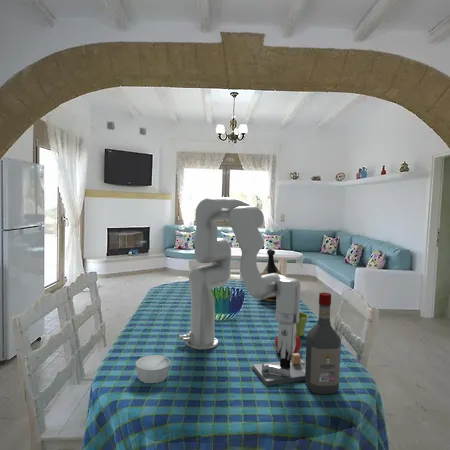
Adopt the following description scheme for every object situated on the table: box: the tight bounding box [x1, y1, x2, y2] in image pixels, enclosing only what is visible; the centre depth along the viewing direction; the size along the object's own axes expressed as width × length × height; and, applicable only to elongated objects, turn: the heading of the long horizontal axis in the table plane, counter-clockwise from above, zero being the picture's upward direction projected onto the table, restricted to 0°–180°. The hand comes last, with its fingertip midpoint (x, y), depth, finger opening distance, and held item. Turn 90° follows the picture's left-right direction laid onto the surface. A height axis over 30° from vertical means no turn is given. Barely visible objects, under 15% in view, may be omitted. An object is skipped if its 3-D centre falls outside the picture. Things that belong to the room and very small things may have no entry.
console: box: [252, 357, 306, 387], centre depth 127 cm, size 20×12×2 cm, turn 107°
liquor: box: [304, 292, 342, 395], centre depth 117 cm, size 9×9×30 cm
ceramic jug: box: [260, 248, 282, 302], centre depth 216 cm, size 17×15×30 cm
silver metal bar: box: [262, 362, 290, 377], centre depth 123 cm, size 9×2×2 cm, turn 67°
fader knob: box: [291, 352, 302, 364], centre depth 131 cm, size 2×2×3 cm
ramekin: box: [135, 354, 171, 384], centre depth 123 cm, size 11×11×5 cm
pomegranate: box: [274, 335, 302, 355], centre depth 144 cm, size 10×10×9 cm
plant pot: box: [296, 311, 309, 338], centre depth 163 cm, size 9×9×9 cm
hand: (284, 369), depth 124 cm, fingers closed
